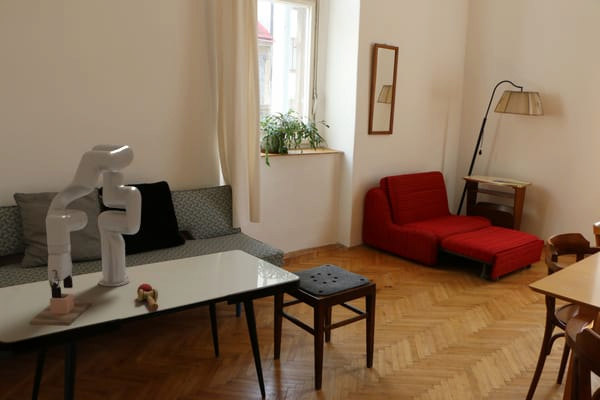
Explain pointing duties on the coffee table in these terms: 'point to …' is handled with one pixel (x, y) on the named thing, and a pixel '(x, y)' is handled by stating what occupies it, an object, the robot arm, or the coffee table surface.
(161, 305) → the coffee table surface
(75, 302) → the post block
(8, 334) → the coffee table surface
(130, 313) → the coffee table surface
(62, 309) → the collar
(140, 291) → the kendama
